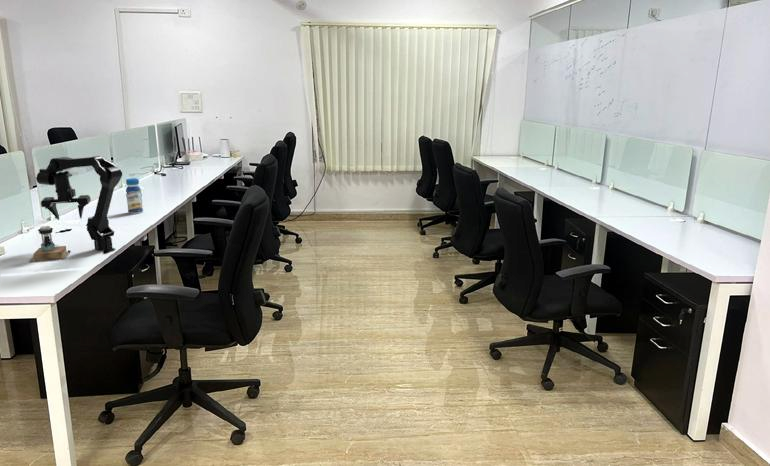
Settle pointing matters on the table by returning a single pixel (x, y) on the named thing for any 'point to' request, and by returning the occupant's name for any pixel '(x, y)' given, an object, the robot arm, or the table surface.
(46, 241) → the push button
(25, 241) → the table surface
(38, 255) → the tan flat square block
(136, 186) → the beverage bottle
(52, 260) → the base plate
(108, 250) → the robot arm
